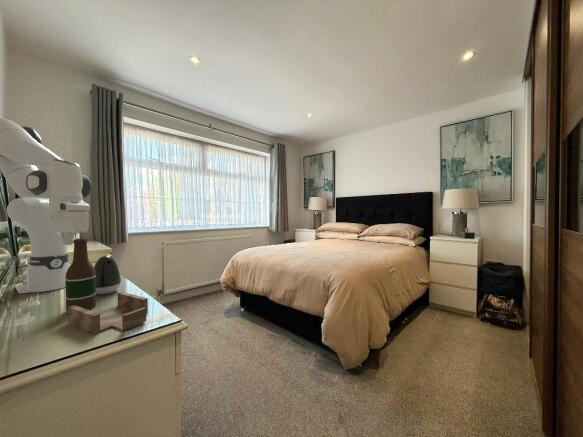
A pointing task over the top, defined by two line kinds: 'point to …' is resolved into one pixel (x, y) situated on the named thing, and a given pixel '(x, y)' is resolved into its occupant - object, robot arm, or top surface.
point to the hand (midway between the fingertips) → (67, 244)
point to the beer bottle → (80, 278)
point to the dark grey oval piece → (107, 275)
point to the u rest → (111, 315)
